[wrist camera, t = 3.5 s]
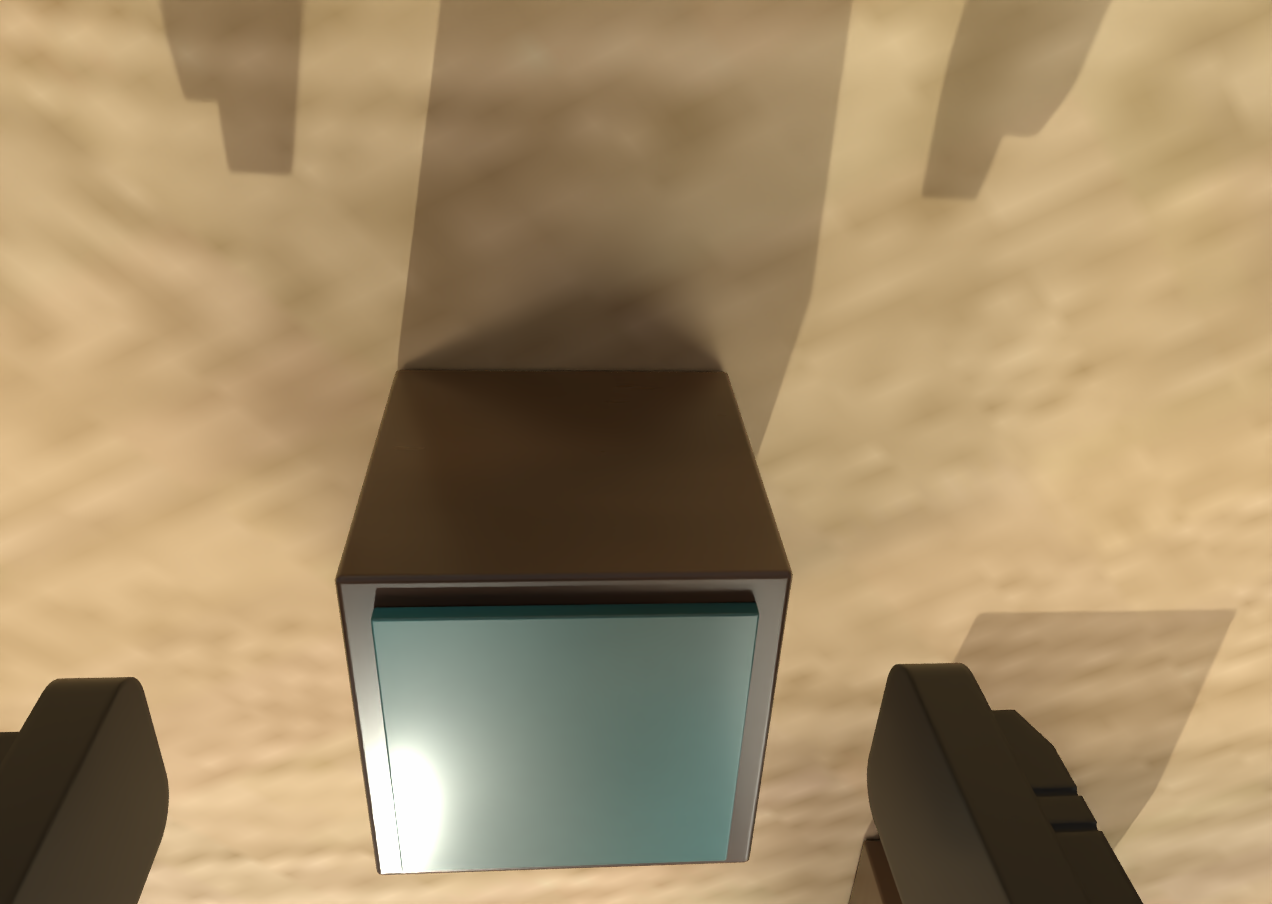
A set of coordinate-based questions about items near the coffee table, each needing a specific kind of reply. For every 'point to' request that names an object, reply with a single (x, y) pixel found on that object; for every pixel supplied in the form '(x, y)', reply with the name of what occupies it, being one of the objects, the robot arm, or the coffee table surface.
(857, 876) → the red-topped brown block
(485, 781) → the teal topped brown block
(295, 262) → the coffee table surface
